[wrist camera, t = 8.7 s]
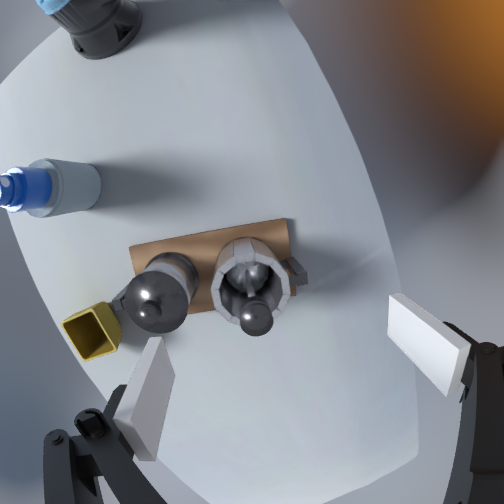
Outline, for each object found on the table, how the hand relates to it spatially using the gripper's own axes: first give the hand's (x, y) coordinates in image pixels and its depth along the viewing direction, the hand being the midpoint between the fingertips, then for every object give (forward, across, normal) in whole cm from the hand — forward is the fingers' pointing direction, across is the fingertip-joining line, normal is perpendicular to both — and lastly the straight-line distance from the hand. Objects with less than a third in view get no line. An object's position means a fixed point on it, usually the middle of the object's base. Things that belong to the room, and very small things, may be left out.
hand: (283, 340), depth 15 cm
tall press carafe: (+35, 0, -6) cm, 35 cm away
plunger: (+32, -1, -6) cm, 32 cm away
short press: (+35, -16, -6) cm, 39 cm away
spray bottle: (+37, -29, +14) cm, 49 cm away
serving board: (+36, -7, -6) cm, 38 cm away
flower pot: (+37, -31, -12) cm, 49 cm away
